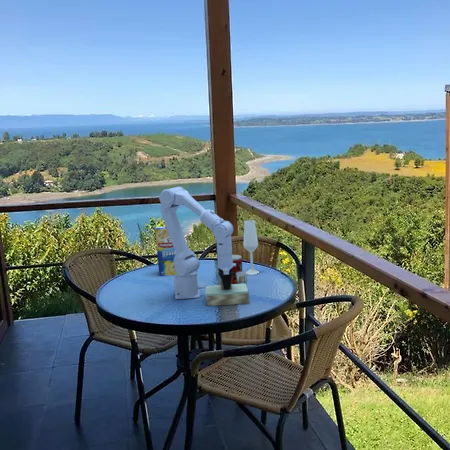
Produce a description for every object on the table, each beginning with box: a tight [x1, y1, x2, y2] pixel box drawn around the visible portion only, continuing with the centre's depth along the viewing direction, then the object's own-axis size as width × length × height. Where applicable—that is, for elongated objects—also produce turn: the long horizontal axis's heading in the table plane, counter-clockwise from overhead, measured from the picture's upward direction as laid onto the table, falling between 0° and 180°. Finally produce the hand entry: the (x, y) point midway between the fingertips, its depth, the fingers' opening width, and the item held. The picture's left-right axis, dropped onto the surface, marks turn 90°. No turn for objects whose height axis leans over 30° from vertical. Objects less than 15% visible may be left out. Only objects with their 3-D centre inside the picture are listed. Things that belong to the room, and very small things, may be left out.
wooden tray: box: [205, 292, 250, 307], centre depth 197 cm, size 16×10×4 cm, turn 92°
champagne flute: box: [242, 219, 260, 275], centre depth 232 cm, size 7×7×24 cm
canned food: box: [231, 254, 243, 284], centre depth 222 cm, size 8×8×11 cm
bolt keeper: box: [236, 270, 248, 286], centre depth 207 cm, size 4×4×8 cm
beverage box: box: [154, 225, 178, 277], centre depth 239 cm, size 7×11×22 cm, turn 98°
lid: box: [205, 280, 249, 297], centre depth 197 cm, size 16×10×4 cm, turn 92°
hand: (226, 287), depth 197 cm, fingers open, 4 cm apart
